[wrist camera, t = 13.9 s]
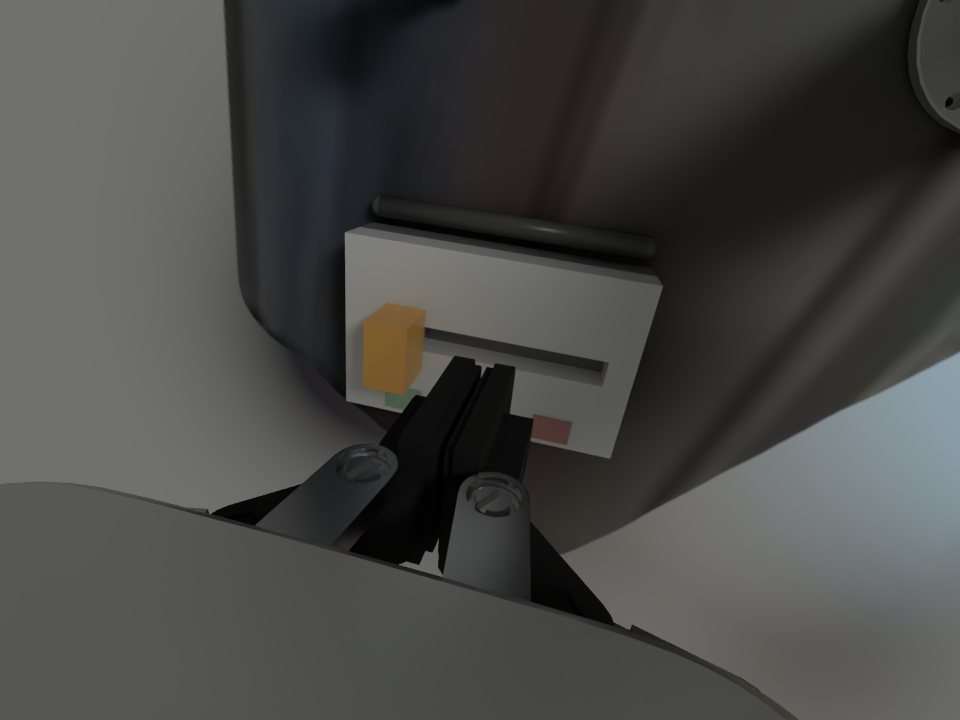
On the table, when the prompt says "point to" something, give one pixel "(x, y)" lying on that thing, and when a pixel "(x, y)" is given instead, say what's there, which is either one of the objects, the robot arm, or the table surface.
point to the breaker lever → (393, 348)
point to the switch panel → (509, 312)
